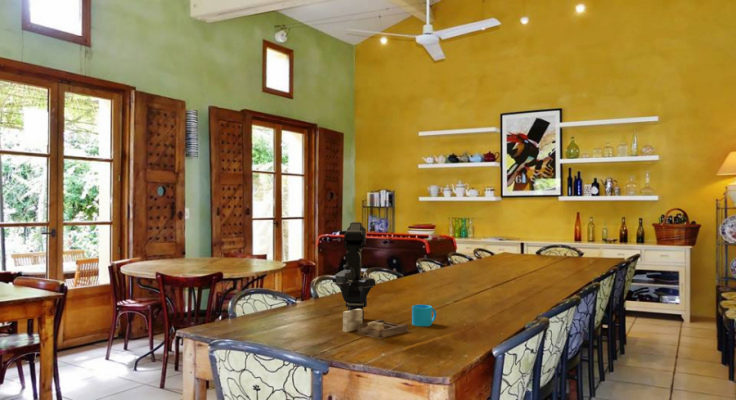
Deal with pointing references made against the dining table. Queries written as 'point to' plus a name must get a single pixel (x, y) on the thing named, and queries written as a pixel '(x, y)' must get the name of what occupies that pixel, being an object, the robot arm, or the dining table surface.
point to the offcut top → (375, 325)
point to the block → (352, 319)
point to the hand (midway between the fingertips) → (353, 302)
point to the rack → (388, 330)
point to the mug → (422, 315)
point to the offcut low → (375, 330)
